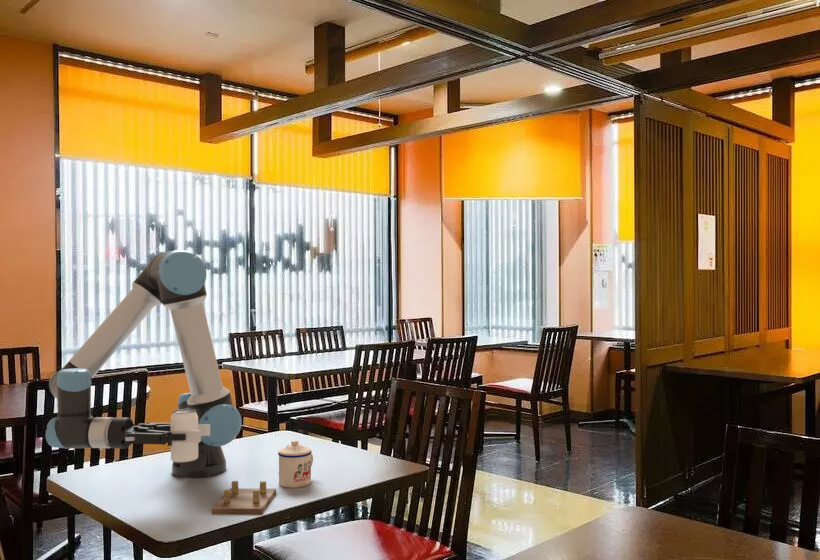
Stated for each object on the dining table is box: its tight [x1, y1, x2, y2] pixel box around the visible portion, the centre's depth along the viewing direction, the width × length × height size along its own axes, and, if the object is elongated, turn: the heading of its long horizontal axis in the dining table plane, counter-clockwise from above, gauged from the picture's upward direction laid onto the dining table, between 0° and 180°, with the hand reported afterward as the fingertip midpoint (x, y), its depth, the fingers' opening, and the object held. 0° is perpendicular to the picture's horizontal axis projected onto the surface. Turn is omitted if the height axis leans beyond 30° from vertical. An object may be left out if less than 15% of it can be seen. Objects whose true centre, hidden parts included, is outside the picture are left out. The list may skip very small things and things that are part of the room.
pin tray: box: [211, 480, 277, 515], centre depth 174 cm, size 16×12×4 cm
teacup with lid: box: [277, 439, 314, 489], centre depth 191 cm, size 12×9×12 cm
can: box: [170, 409, 198, 463], centre depth 171 cm, size 6×6×12 cm
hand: (204, 433), depth 171 cm, fingers closed on can, 6 cm apart
